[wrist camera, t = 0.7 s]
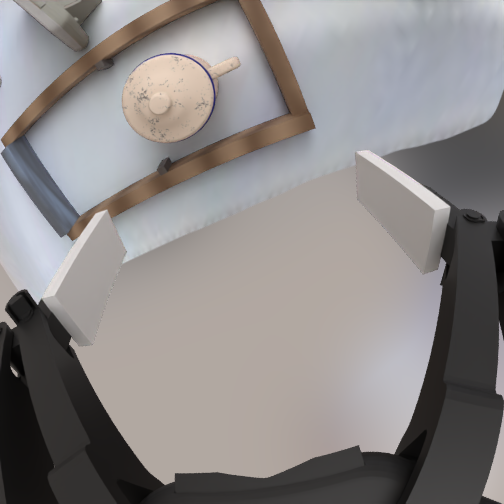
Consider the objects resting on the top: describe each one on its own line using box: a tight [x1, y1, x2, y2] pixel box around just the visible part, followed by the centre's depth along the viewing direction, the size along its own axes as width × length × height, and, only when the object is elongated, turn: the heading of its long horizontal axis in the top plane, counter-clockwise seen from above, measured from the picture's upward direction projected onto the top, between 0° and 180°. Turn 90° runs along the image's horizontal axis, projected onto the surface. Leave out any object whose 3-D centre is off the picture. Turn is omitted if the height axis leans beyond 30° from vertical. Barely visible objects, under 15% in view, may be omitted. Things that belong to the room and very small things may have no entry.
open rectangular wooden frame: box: [1, 0, 315, 241], centre depth 29 cm, size 39×21×4 cm, turn 113°
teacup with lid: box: [122, 53, 240, 143], centre depth 25 cm, size 12×9×12 cm
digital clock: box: [13, 0, 102, 51], centre depth 15 cm, size 16×9×11 cm, turn 27°
